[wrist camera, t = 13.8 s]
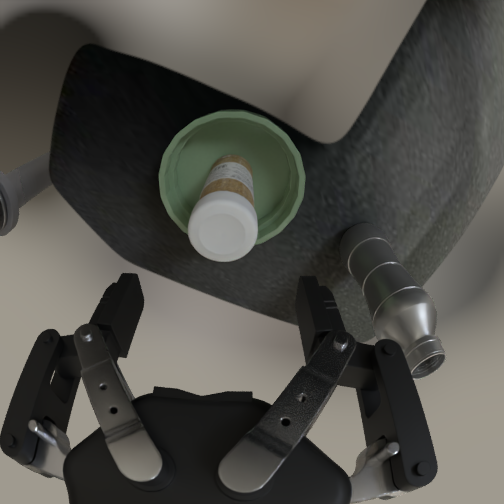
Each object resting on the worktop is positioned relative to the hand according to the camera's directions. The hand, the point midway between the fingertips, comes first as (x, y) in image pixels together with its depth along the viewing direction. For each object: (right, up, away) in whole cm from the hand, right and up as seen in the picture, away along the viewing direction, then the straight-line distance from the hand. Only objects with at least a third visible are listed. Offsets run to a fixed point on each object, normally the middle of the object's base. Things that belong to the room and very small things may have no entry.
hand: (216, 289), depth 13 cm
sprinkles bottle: (0, +10, +16) cm, 19 cm away
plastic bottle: (+15, +3, +21) cm, 26 cm away
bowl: (0, +10, +16) cm, 19 cm away
